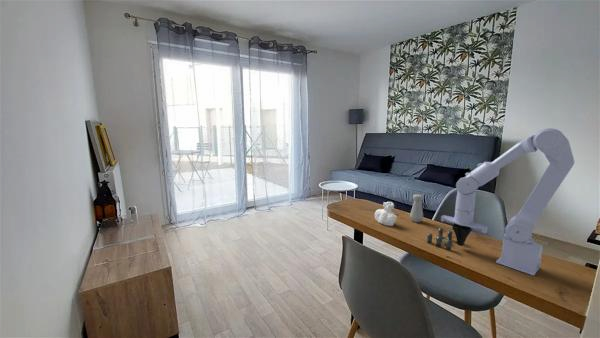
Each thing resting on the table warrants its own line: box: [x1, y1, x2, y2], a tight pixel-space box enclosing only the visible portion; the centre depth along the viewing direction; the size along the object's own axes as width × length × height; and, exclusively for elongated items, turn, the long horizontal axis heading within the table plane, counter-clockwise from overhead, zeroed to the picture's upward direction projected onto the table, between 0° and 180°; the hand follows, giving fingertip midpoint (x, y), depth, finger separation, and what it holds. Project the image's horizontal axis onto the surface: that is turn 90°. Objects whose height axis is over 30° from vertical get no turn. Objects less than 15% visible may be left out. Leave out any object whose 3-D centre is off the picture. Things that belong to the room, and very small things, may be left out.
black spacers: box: [426, 227, 454, 252], centre depth 97 cm, size 9×11×4 cm
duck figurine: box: [374, 201, 398, 227], centre depth 117 cm, size 12×8×11 cm
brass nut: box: [434, 234, 449, 246], centre depth 98 cm, size 5×4×2 cm
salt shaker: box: [409, 194, 424, 223], centre depth 120 cm, size 6×6×13 cm
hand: (460, 244), depth 93 cm, fingers closed
